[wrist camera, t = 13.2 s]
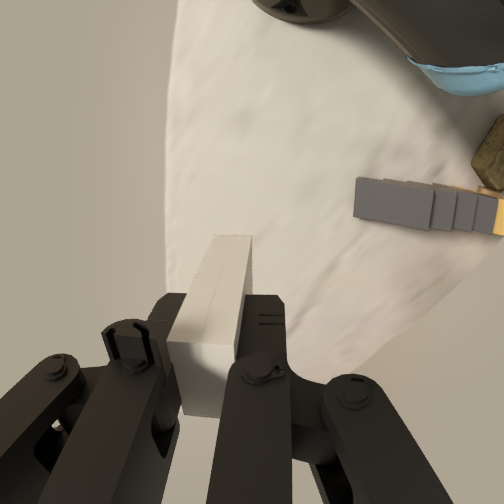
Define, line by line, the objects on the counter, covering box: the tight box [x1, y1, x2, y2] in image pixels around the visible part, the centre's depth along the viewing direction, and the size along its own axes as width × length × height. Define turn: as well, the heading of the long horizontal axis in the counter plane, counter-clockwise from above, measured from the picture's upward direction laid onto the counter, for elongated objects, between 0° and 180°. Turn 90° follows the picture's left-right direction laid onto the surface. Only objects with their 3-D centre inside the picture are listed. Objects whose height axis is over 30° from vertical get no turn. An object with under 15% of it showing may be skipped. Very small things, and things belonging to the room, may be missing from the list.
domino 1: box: [353, 177, 434, 231], centre depth 37 cm, size 2×5×10 cm
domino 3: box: [407, 181, 477, 232], centre depth 36 cm, size 2×5×10 cm
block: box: [477, 186, 502, 198], centre depth 37 cm, size 3×6×3 cm, turn 0°
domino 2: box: [383, 179, 457, 232], centre depth 37 cm, size 2×5×10 cm
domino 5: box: [452, 186, 504, 236], centre depth 36 cm, size 2×5×10 cm
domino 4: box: [433, 183, 499, 235], centre depth 36 cm, size 2×5×10 cm
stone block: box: [471, 114, 504, 192], centre depth 33 cm, size 6×12×5 cm, turn 147°
